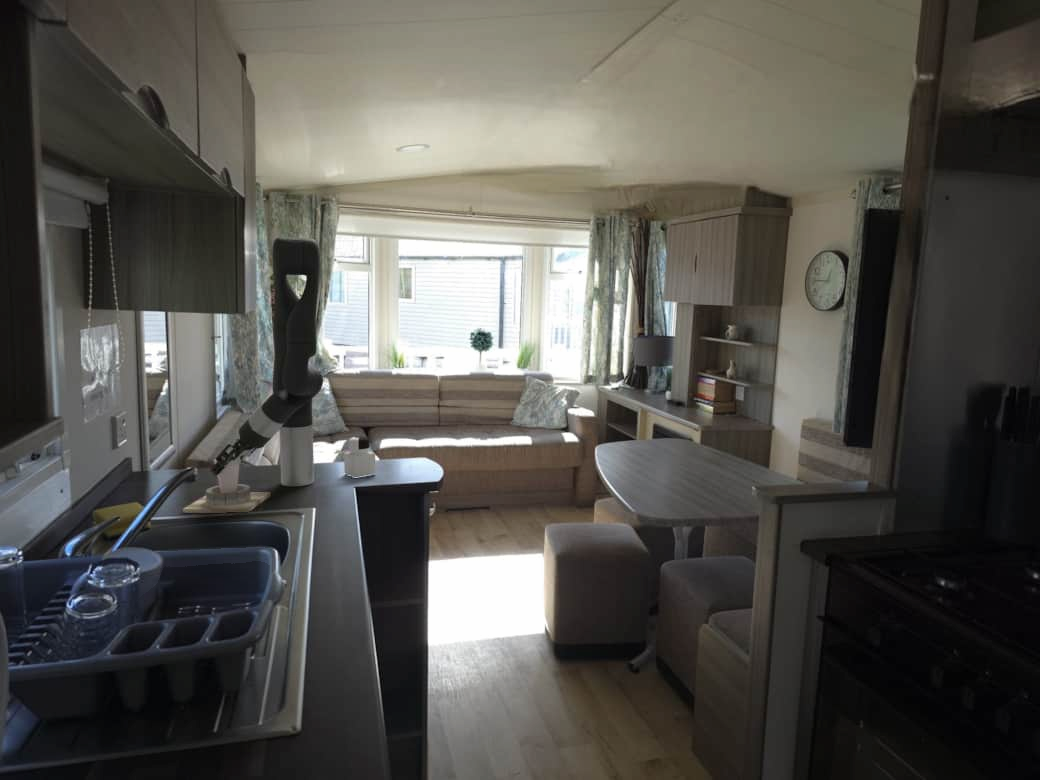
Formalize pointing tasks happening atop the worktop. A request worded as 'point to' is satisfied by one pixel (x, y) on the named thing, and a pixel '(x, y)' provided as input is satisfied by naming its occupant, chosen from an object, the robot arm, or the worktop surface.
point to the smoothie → (229, 476)
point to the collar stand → (227, 501)
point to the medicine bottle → (359, 457)
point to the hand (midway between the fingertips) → (222, 469)
